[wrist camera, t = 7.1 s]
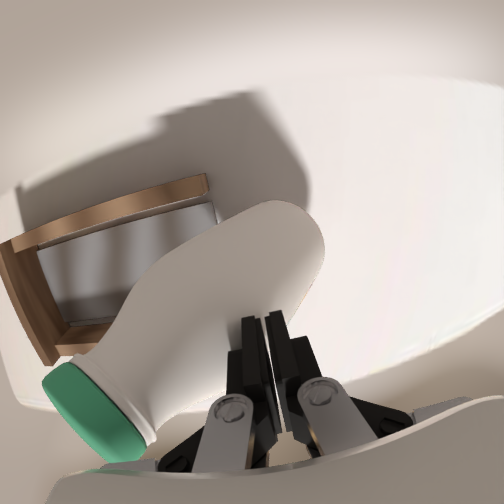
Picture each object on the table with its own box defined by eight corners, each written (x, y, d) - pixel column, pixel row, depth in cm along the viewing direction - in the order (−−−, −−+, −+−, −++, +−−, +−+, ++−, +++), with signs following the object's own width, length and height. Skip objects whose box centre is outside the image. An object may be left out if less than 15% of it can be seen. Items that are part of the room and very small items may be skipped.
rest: (205, 173, 23) (193, 176, 17) (240, 315, 27) (239, 352, 22) (25, 232, 24) (-9, 248, 18) (67, 338, 28) (44, 365, 22)
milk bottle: (237, 196, 24) (-3, 315, 7) (328, 201, 20) (89, 429, 4) (243, 277, 27) (72, 432, 10) (324, 291, 23) (183, 518, 7)
